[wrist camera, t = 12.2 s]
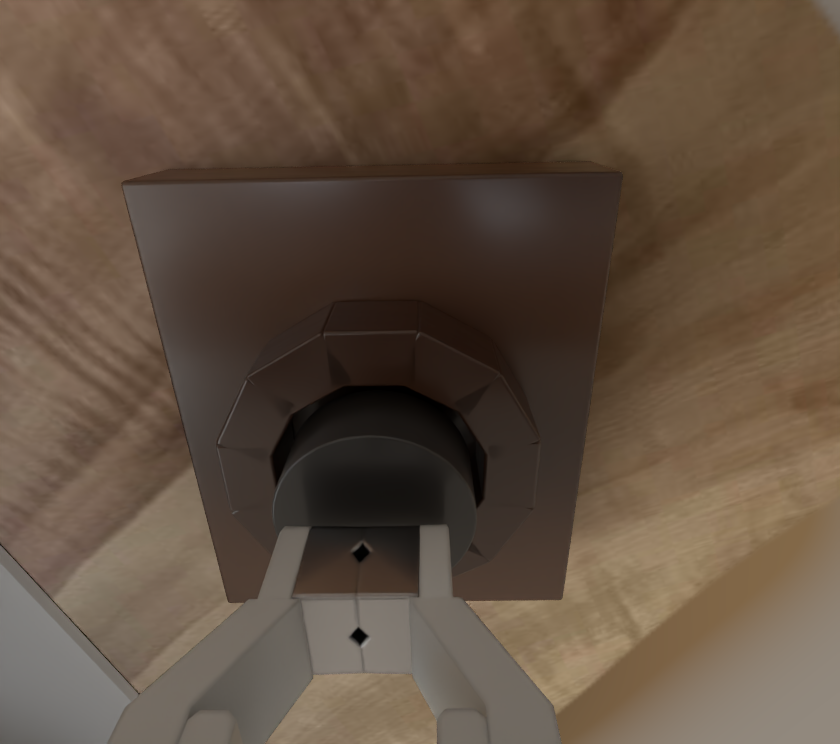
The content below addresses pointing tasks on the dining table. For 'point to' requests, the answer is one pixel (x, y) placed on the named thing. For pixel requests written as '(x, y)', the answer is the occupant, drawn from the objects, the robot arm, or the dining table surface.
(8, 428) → the dining table surface
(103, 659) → the grey storage bin
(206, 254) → the button block
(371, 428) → the button
